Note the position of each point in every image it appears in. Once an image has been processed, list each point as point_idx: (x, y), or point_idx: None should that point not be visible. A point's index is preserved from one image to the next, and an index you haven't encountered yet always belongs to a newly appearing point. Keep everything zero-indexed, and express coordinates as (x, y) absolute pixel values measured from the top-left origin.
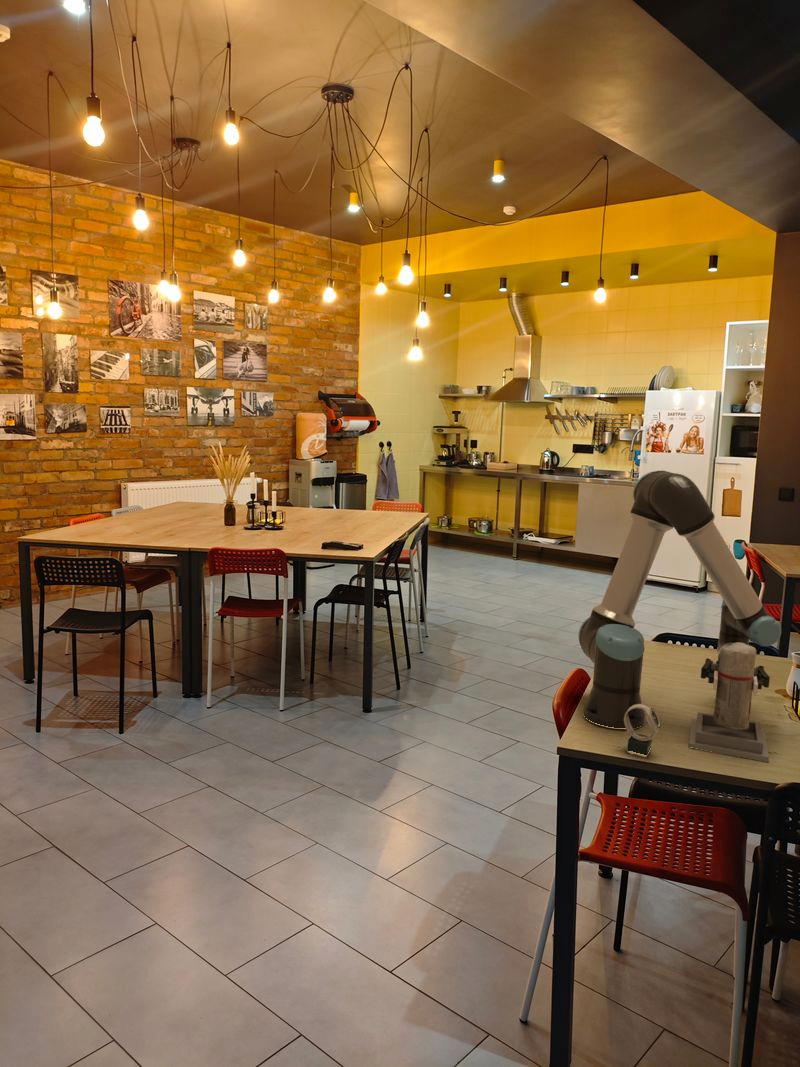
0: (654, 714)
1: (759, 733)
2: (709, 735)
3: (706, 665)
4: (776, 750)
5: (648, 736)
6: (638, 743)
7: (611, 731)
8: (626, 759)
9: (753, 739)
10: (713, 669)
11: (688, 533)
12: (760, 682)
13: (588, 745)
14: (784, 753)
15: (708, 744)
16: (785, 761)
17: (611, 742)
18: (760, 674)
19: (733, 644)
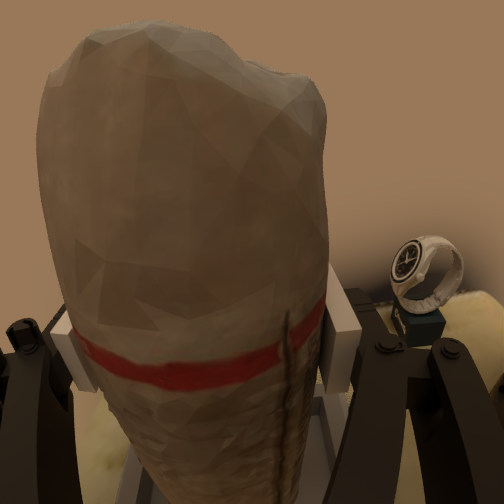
0: (412, 258)
1: (135, 457)
2: None
3: (481, 432)
4: (101, 479)
5: (410, 308)
6: (410, 294)
7: (501, 372)
8: None
9: (155, 499)
10: (385, 369)
11: None
12: (65, 310)
13: (475, 308)
14: (86, 465)
15: None
16: (102, 420)
17: (466, 334)
18: (23, 319)
19: (203, 42)
